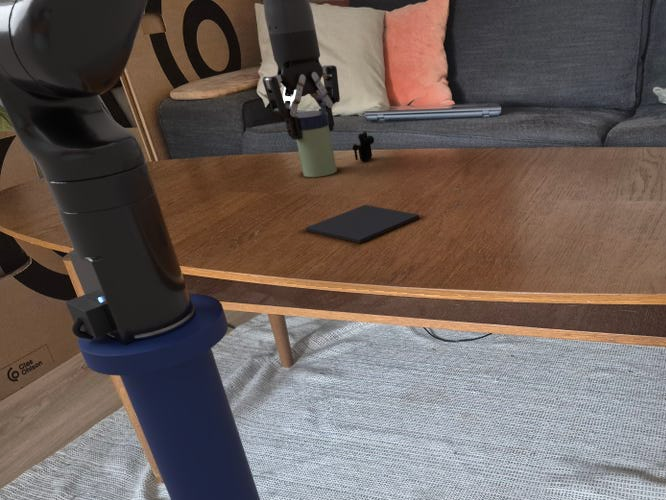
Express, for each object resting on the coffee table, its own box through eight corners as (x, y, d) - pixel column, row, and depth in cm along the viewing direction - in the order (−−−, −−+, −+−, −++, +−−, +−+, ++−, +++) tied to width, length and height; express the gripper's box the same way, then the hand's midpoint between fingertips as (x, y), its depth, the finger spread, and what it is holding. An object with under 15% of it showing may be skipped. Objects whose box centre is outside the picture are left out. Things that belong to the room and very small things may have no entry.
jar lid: (307, 130, 112) (305, 118, 111) (284, 128, 116) (281, 116, 115) (337, 122, 116) (335, 111, 116) (313, 120, 120) (311, 109, 119)
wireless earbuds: (371, 155, 129) (367, 128, 126) (383, 155, 128) (379, 128, 125) (353, 165, 123) (348, 137, 121) (365, 165, 122) (360, 136, 120)
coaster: (360, 243, 85) (359, 239, 85) (306, 231, 92) (305, 227, 91) (419, 218, 92) (418, 214, 92) (365, 208, 99) (364, 204, 98)
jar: (317, 178, 117) (306, 121, 112) (296, 175, 120) (284, 119, 115) (344, 170, 121) (333, 114, 116) (322, 167, 124) (312, 112, 119)
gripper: (268, 33, 102) (293, 145, 110) (340, 23, 111) (358, 127, 120) (240, 34, 106) (266, 142, 115) (312, 25, 116) (330, 125, 124)
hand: (312, 134), depth 117 cm, fingers closed on jar lid, 6 cm apart
